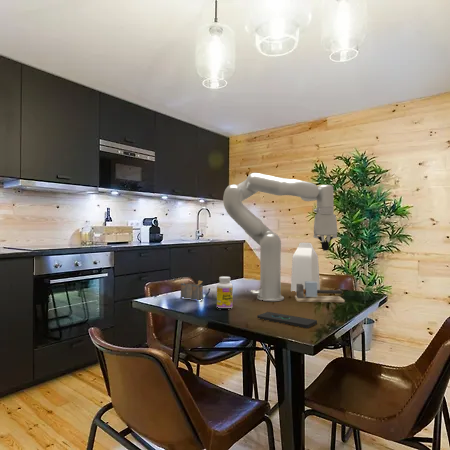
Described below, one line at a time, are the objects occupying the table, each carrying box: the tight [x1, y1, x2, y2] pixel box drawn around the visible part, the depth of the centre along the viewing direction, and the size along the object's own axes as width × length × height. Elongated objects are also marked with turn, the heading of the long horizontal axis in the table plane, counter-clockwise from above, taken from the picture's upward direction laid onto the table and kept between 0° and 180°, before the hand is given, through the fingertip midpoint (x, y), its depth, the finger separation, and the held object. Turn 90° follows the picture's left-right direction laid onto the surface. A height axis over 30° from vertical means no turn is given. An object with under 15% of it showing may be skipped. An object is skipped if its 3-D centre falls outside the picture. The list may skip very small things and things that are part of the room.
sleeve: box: [304, 281, 318, 297], centre depth 158 cm, size 5×4×6 cm
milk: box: [290, 242, 321, 293], centre depth 182 cm, size 12×12×26 cm
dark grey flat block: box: [256, 311, 318, 329], centre depth 120 cm, size 8×2×20 cm
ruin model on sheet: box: [180, 280, 204, 300], centre depth 157 cm, size 11×3×10 cm, turn 54°
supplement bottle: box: [216, 276, 234, 309], centre depth 140 cm, size 7×7×13 cm
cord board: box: [294, 284, 346, 303], centre depth 157 cm, size 21×9×7 cm, turn 85°
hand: (325, 250), depth 157 cm, fingers closed
